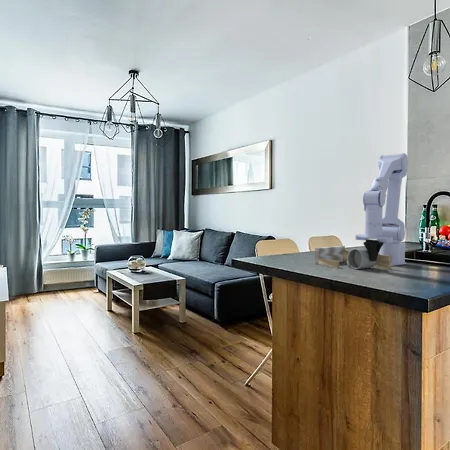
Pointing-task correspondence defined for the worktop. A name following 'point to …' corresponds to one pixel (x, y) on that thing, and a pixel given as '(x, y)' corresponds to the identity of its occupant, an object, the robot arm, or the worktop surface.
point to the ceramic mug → (359, 259)
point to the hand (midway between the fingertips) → (373, 261)
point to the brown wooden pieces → (344, 257)
